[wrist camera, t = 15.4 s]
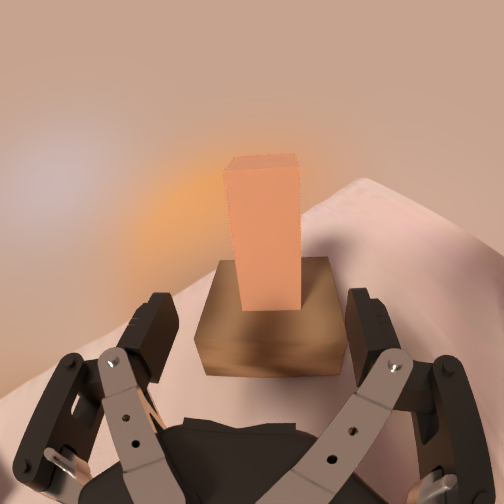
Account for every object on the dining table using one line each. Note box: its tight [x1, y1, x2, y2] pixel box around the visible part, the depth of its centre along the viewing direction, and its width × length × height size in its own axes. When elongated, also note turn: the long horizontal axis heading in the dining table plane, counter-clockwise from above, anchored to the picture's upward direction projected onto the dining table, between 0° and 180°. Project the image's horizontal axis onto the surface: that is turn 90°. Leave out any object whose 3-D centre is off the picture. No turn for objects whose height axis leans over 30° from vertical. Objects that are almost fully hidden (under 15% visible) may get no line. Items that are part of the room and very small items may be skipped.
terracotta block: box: [223, 154, 301, 311], centre depth 23 cm, size 5×5×12 cm
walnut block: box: [194, 257, 347, 377], centre depth 27 cm, size 12×12×5 cm
